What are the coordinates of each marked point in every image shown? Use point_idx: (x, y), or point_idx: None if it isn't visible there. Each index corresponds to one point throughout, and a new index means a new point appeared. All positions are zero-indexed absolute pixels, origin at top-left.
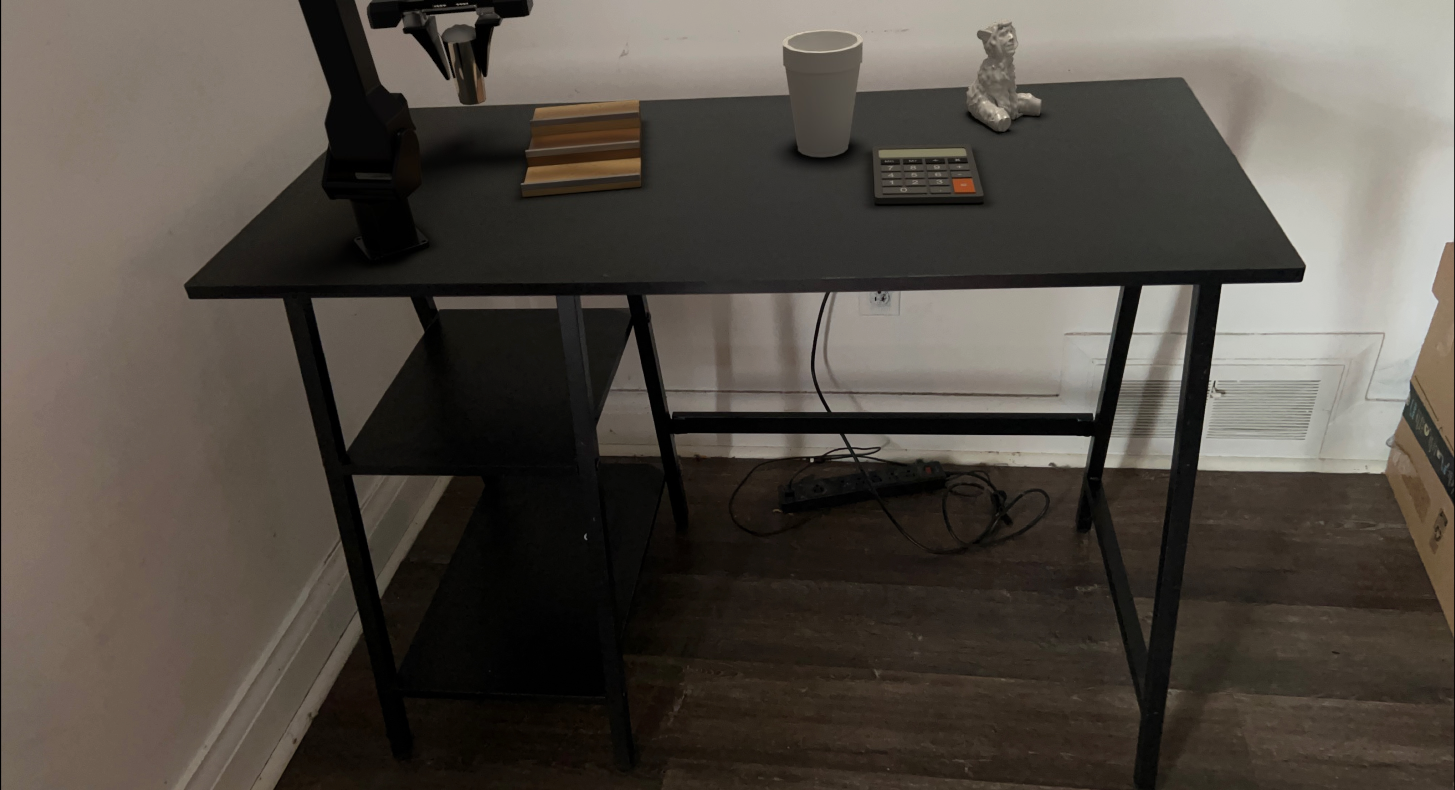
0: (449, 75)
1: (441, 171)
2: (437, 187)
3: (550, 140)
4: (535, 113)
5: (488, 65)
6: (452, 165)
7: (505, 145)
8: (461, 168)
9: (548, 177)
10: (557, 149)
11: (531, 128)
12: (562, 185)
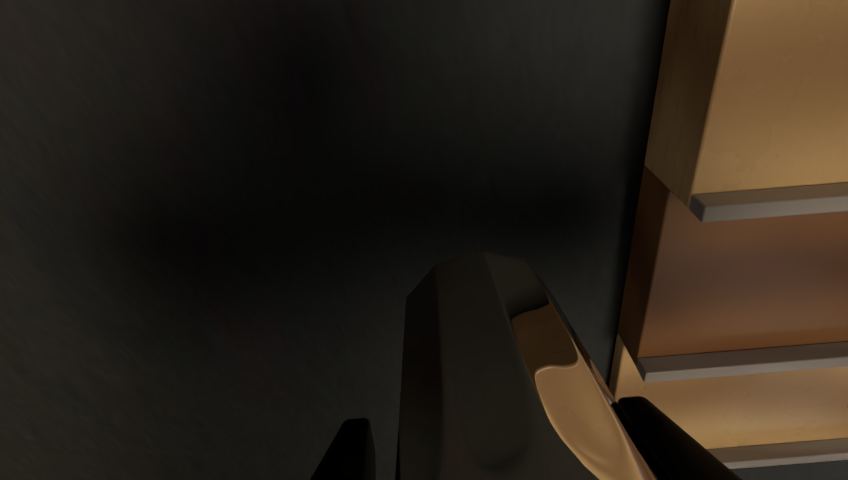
0: (370, 453)
1: (323, 291)
2: (352, 387)
3: (737, 243)
4: (737, 16)
5: (692, 438)
6: (345, 250)
7: (520, 81)
8: (387, 276)
9: (678, 408)
10: (751, 372)
11: (689, 205)
12: None
